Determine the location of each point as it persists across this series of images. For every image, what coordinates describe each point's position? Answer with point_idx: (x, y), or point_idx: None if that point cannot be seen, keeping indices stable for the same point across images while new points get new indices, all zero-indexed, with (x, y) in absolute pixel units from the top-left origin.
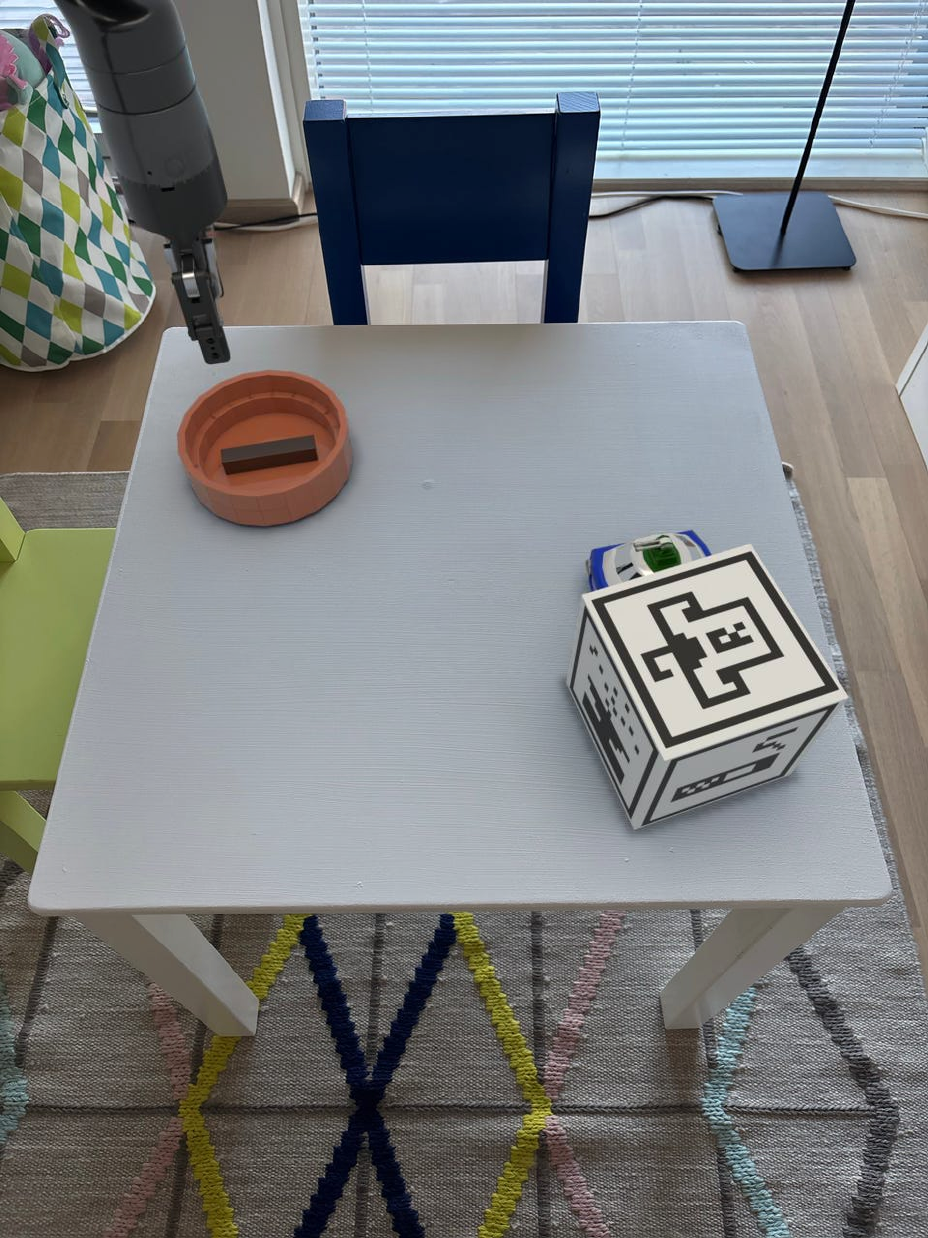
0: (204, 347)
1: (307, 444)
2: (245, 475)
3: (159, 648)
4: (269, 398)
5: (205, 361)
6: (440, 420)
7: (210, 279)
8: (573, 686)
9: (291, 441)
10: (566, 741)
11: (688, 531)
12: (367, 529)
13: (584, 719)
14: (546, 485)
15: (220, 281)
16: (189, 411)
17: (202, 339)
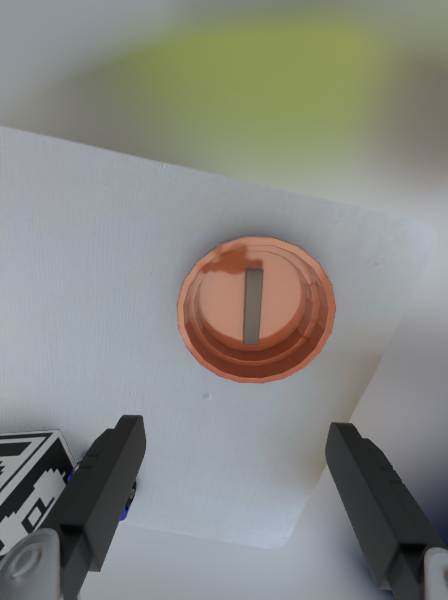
0: (71, 479)
1: (248, 339)
2: (241, 282)
3: (84, 199)
4: (310, 317)
5: (120, 418)
6: (261, 413)
7: (351, 497)
8: (44, 439)
9: (255, 328)
10: (26, 421)
11: (121, 519)
12: (176, 356)
13: (35, 433)
14: (192, 452)
15: (342, 500)
16: (300, 252)
17: (51, 512)
